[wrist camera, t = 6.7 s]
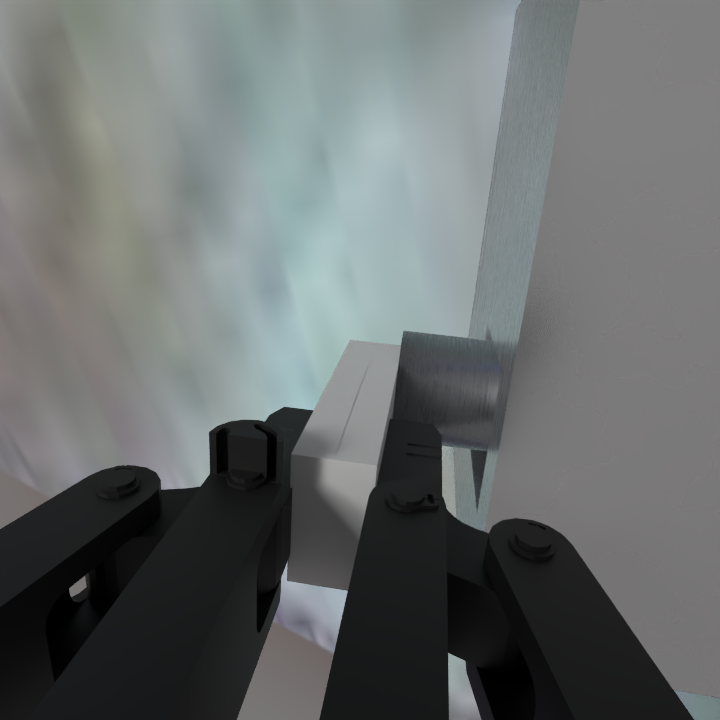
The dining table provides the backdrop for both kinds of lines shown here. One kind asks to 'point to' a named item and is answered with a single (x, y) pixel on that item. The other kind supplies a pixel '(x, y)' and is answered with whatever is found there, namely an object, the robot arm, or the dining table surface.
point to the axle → (448, 386)
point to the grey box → (610, 311)
